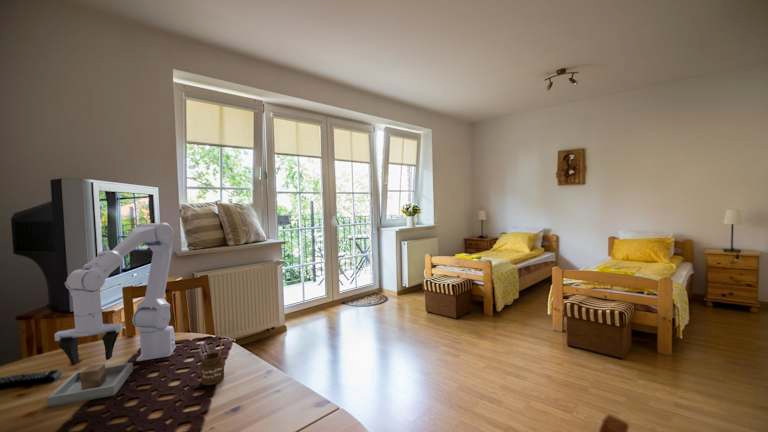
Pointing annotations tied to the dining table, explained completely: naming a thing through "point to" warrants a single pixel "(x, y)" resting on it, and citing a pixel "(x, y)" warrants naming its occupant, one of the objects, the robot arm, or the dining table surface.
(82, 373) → the walnut block
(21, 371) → the dining table surface
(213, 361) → the utensil holder
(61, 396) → the tray
